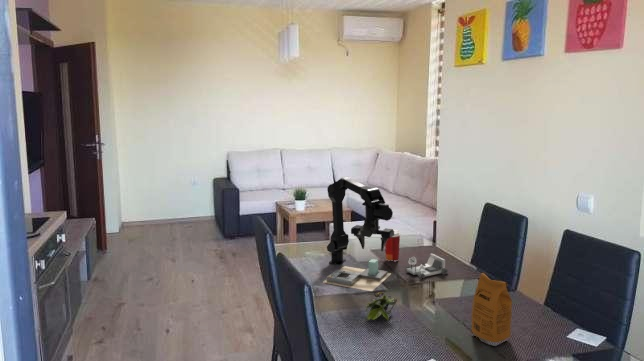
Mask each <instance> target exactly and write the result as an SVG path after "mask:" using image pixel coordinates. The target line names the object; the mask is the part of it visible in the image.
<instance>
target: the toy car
mask: <svg viewBox="0 0 644 361" xmlns="http://www.w3.org/2000/svg"><path fill="white" fill-rule="evenodd" d="M427 259H428V260H427V262H426V263H424V262H422V263H421V264H420V265H419V266H417V258H416V257H415V256H412V257H410V258H408V264H409V265H406V266H405V268H404V270H405V269H406V270H405V272H408V273H410V274H411V275H413V276H415V275H417V276H418V278H419V280H420V279H421V278H424V279H425V278H426V277H430V276H434V275H439V274H442V275H446V274H448V273H449V270H448V268H446V259H444V258H442V257H440V256H438V255H437V254H434V253H430V254H429V257H428V258H427ZM421 280H422V279H421Z"/></svg>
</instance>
